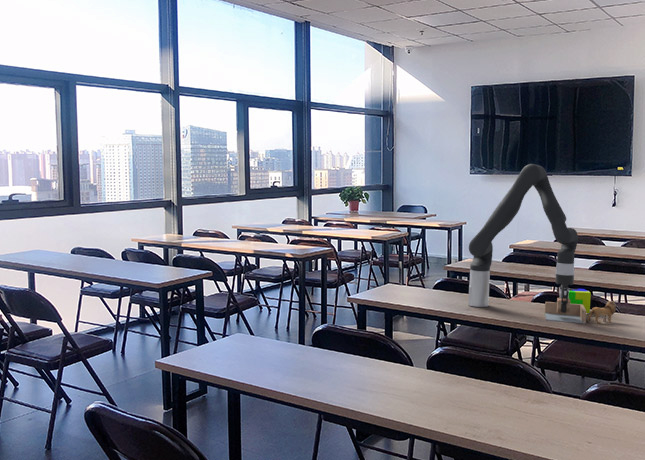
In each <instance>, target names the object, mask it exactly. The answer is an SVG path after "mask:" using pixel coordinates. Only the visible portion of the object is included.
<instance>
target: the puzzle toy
mask: <svg viewBox="0 0 645 460" xmlns="http://www.w3.org/2000/svg"><path fill="white" fill-rule="evenodd" d="M568 288H569V298H568V299H570V304H582V305H583V306H584V308H585V309H586V313H590V312H591V297H592V296H591V295H592V294H591V291H588V290H587V289H585V288H570V287H568Z"/></svg>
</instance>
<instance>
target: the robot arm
mask: <svg viewBox="0 0 645 460" xmlns="http://www.w3.org/2000/svg"><path fill="white" fill-rule="evenodd" d="M549 179H550V178H549V177H548V174H547V171H546V169H545V168H544V167H543V166H541V165H539V164H534V163H528V164H527V165H525V166H524V167H523V168H522V169H521V171H520V172H519V174H518V175H517V178H516V179H515V181H514V183H513V184H512V186H511V187H510V189H509V190H508V191H507V193H505V195H504V197H503V198H502V199H501V201H499V203H498V204H497V206H496V207H495V209H494V210H493V212H492V213H491V215H490V216H489V217H488V219H487V220H486V222H485V224H484V225H483V227H482V228H481V229H480V230H479V231H478V232H477V234H476V235H475V236H473V238H472V239H471V240H470V242H469V245H468V251H469V253H470V255H472V256H473V259H472V261H471V263H470V267H469V268H470V269H469V285H468V302H467V303H468V304H467V305H468V306H470V307H476V308H485V307H486V308H487V307H489V302H490V301H489V299H490V298H489V297H490V277H491V275H490V273H491V272H490V271H491V270H490V269H491V266H492V262H493V251H494V250H493V247H494V246H493V240H494V239H495V238H496V237H497V235H499V233H501V232H502V231H503V230H504V229H505V228H506V227H508V225H510V223H511V222H512V221H513V220H514V218H515V217H516V216H517V214H518V213H519V211H520V209H521V207H522V203H523V201H524V198H525V196H526V195H527V194H528V192H529V191H530V190H531V188H532V187H533V188H534V189H535V190H536V191H537V193H538V195H539V198H540V200H541V204H542V208H543V212H544V213H545V216H546V217H547V220H548V222H549V223H550V225H551V230H552V233H553V236H554V238H555V240H556V241H557V242H558V243H559V244H560V245H561V247H560V249H559V250H557V253H556V254H557V255H556V257H557V258H556V267H555V284H557V285H560V286H559V287H558V288H559V289H558V291H559V292H558V293H559V294H558V295H559V297H558V298H560V299H561V312H562V313H566V310H567V304H568V298H569V288H570V287H568V286H572V285H574V281H575V253H576V250H577V246H578V240H579V235H578V232H577V230H576V229H574V228H572V227H568V226H567V224H566V222H567V216H566V214H565V213H564V211H563V209H562V206H561V205H560V203H559V202H558V199H557V198H556V196H555V193H554V191H553V189H552V186H551V183H550V181H549ZM563 299H566V301H563Z"/></svg>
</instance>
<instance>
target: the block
mask: <svg viewBox="0 0 645 460" xmlns="http://www.w3.org/2000/svg"><path fill="white" fill-rule="evenodd" d="M563 301H566V299H563ZM556 303H557V313H560V314H570V299H568V304H567V310H566V313H562V312H561V299H560V297H557V300H556Z"/></svg>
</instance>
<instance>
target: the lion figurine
mask: <svg viewBox="0 0 645 460" xmlns="http://www.w3.org/2000/svg"><path fill="white" fill-rule="evenodd" d="M616 308H617V304H616V303H615V301H613V300H609V301H606V304H605V306H604V307H597V306H595V307H592V308H591V309H590V314H589V315H588V317H587V322H588V323H591V322H592V321H591V318H592V317H594V316H595V321H596V323H597V324H601V322H600V321H599V317H603V322H604V321H606V322H608V323H610V324H612V316H613V315H614V314H615V312H616ZM607 317H608V320H607Z"/></svg>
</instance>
